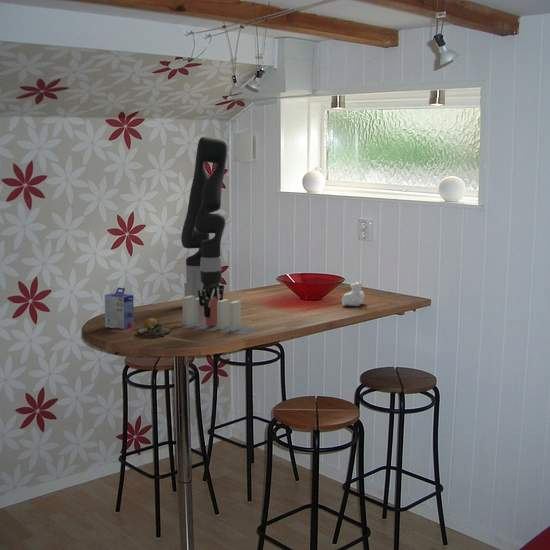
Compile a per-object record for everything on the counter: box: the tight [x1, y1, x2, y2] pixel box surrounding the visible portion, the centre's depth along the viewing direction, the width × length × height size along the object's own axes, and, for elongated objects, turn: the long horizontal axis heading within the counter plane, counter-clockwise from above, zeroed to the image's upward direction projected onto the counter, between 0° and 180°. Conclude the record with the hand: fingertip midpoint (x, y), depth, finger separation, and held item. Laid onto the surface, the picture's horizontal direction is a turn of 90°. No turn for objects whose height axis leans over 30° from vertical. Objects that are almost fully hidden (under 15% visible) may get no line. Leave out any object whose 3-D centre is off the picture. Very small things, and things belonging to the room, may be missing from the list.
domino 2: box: [194, 298, 206, 327], centre depth 277 cm, size 2×5×10 cm, turn 152°
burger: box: [136, 317, 172, 339], centre depth 266 cm, size 12×12×8 cm
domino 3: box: [217, 298, 230, 330], centre depth 272 cm, size 2×5×10 cm, turn 152°
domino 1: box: [181, 295, 195, 325], centre depth 279 cm, size 2×5×10 cm, turn 152°
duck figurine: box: [341, 281, 366, 307], centre depth 314 cm, size 12×8×11 cm
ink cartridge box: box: [104, 287, 135, 330], centre depth 275 cm, size 10×6×14 cm, turn 58°
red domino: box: [206, 297, 217, 326], centre depth 274 cm, size 2×5×10 cm, turn 152°
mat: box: [176, 323, 261, 336], centre depth 274 cm, size 29×11×1 cm, turn 62°
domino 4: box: [229, 300, 242, 331], centre depth 270 cm, size 2×5×10 cm, turn 152°
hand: (211, 315), depth 275 cm, fingers closed on red domino, 5 cm apart
